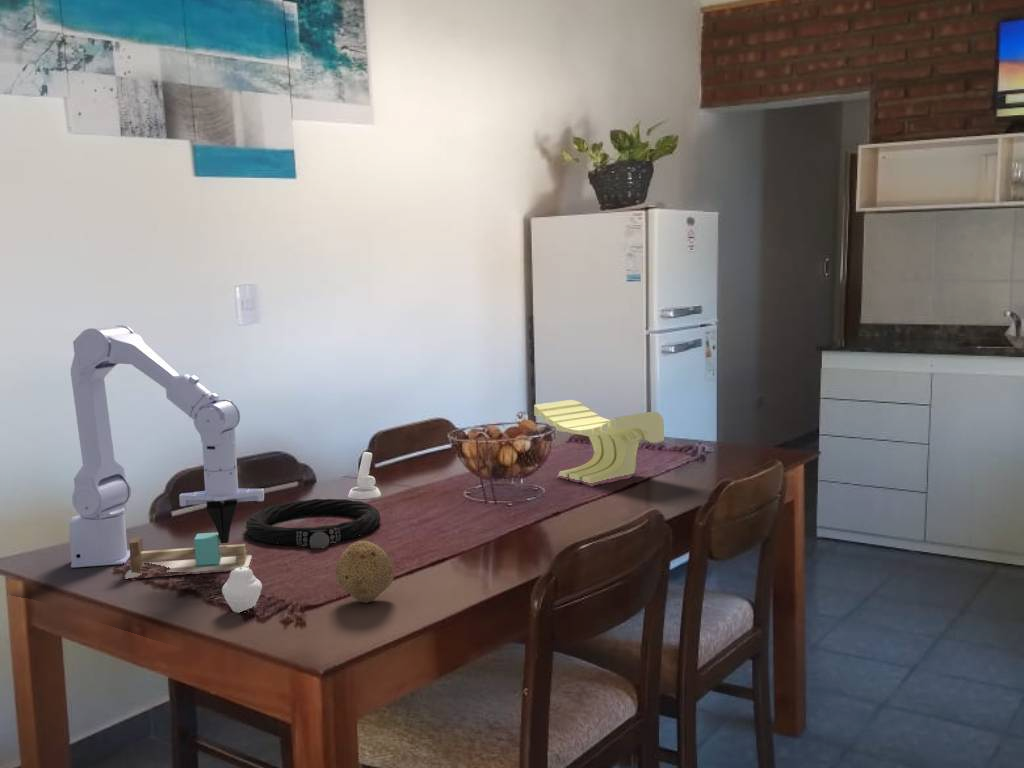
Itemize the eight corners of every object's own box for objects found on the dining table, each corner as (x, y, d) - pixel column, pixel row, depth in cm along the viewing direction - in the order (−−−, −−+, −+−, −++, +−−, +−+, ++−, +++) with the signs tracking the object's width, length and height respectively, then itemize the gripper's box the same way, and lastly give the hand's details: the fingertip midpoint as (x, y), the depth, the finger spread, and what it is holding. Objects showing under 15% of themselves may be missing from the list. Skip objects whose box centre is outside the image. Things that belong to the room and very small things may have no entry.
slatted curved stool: (664, 482, 236) (663, 409, 234) (616, 492, 226) (615, 417, 224) (581, 464, 259) (580, 398, 257) (535, 473, 250) (534, 404, 248)
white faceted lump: (269, 610, 153) (266, 567, 152) (231, 619, 150) (228, 575, 149) (254, 600, 158) (252, 558, 157) (217, 608, 155) (215, 565, 154)
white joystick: (384, 466, 238) (387, 454, 232) (377, 511, 232) (380, 501, 226) (354, 461, 237) (356, 449, 231) (346, 506, 231) (348, 496, 225)
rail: (125, 580, 170) (122, 545, 169) (133, 568, 177) (131, 535, 176) (248, 570, 174) (246, 536, 173) (251, 559, 181) (250, 526, 180)
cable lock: (371, 492, 218) (390, 525, 189) (372, 509, 219) (391, 544, 190) (244, 502, 211) (244, 538, 182) (245, 520, 211) (245, 558, 183)
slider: (195, 565, 174) (194, 539, 173) (198, 559, 177) (197, 533, 177) (219, 563, 174) (217, 537, 174) (221, 557, 178) (219, 532, 177)
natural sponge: (324, 605, 155) (321, 544, 154) (360, 588, 162) (358, 530, 161) (368, 614, 150) (365, 552, 149) (403, 597, 158) (401, 537, 156)
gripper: (174, 475, 169) (179, 550, 171) (260, 470, 172) (264, 544, 173) (181, 467, 176) (185, 539, 178) (263, 462, 179) (267, 534, 180)
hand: (224, 541), depth 176 cm, fingers closed
